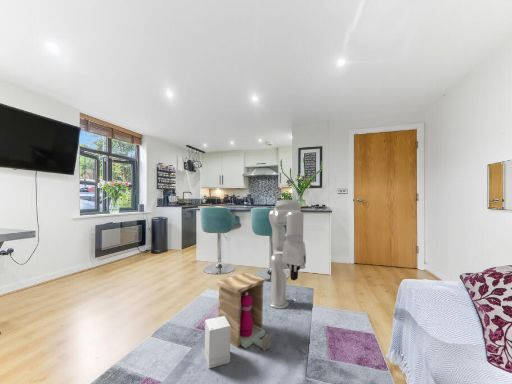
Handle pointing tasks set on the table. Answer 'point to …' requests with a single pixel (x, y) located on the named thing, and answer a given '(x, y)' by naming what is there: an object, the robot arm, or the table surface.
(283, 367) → the table surface
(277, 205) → the robot arm
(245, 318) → the pepper mill
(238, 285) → the open wooden crate
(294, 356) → the table surface
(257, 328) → the tray
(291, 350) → the table surface
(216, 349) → the supplement box
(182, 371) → the table surface
